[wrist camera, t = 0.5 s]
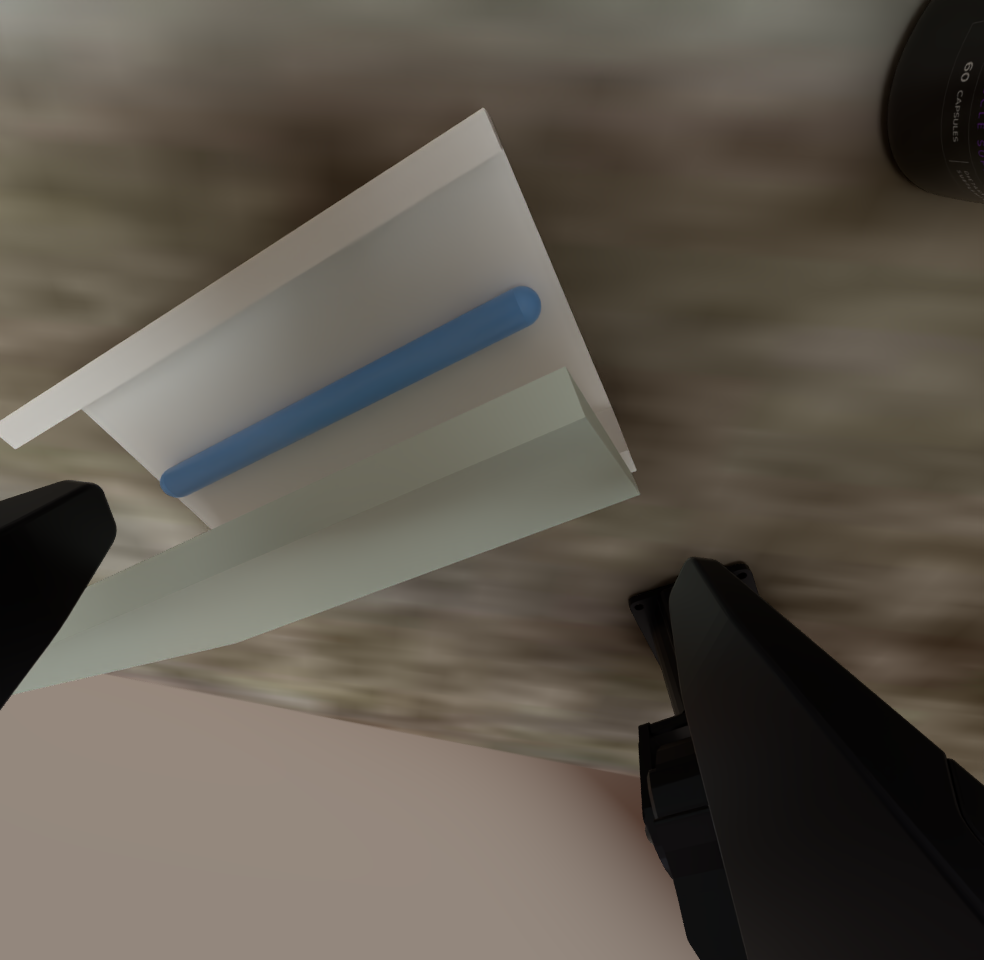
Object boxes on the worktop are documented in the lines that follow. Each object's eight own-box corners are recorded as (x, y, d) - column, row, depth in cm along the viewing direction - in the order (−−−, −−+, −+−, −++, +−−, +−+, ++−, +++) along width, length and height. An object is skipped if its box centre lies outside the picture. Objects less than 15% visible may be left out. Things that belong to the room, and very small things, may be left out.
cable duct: (616, 419, 22) (636, 470, 18) (264, 565, 27) (230, 625, 24) (488, 112, 16) (483, 107, 12) (69, 382, 21) (-12, 427, 18)
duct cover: (633, 475, 19) (640, 495, 18) (239, 624, 24) (242, 641, 24) (565, 366, 7) (585, 417, 7) (-162, 702, 12) (-162, 734, 12)
